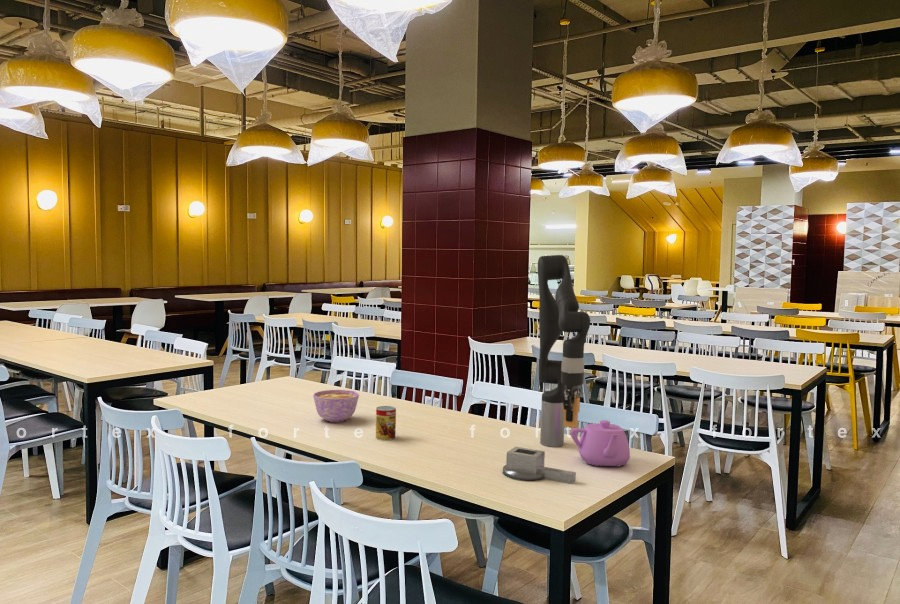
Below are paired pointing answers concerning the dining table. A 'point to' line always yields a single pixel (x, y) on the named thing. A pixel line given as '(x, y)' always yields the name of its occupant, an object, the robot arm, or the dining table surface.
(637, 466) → the dining table surface
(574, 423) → the orange block
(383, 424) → the canned food
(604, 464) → the teapot
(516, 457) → the bracket
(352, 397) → the bowl of food
